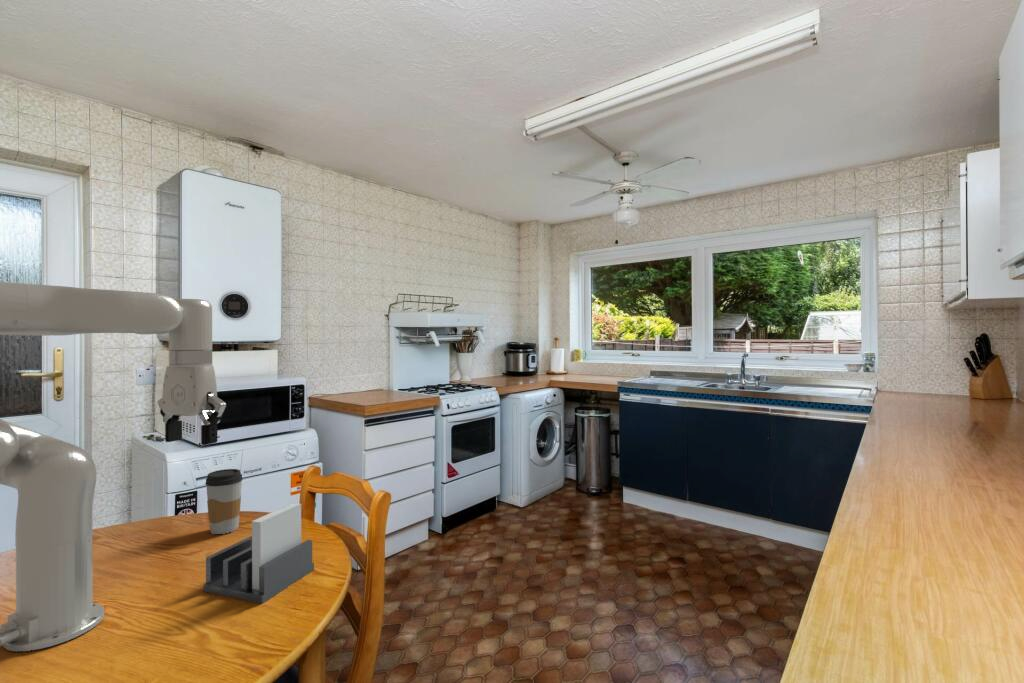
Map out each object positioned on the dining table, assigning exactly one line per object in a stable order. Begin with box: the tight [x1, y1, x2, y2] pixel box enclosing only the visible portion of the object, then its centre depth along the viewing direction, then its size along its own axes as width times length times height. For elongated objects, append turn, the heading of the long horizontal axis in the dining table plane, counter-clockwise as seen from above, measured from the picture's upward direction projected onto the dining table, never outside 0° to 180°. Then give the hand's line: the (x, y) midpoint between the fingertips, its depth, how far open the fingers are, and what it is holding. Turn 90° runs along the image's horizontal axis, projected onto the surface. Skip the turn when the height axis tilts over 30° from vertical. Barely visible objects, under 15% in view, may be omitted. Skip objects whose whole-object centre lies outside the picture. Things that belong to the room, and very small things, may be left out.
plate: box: [251, 502, 302, 590], centre depth 98 cm, size 11×2×13 cm, turn 163°
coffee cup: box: [205, 468, 244, 535], centre depth 126 cm, size 8×8×15 cm
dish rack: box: [203, 535, 315, 604], centre depth 99 cm, size 14×14×6 cm
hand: (191, 442), depth 100 cm, fingers open, 9 cm apart
